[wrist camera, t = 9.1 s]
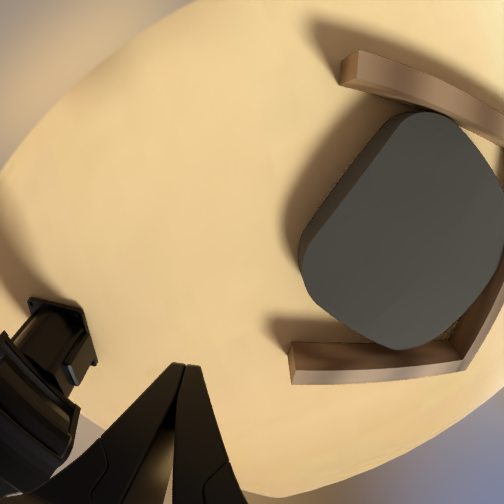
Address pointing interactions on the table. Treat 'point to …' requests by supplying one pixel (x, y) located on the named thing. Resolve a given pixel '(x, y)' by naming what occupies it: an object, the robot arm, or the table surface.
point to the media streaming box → (406, 233)
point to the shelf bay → (482, 309)
